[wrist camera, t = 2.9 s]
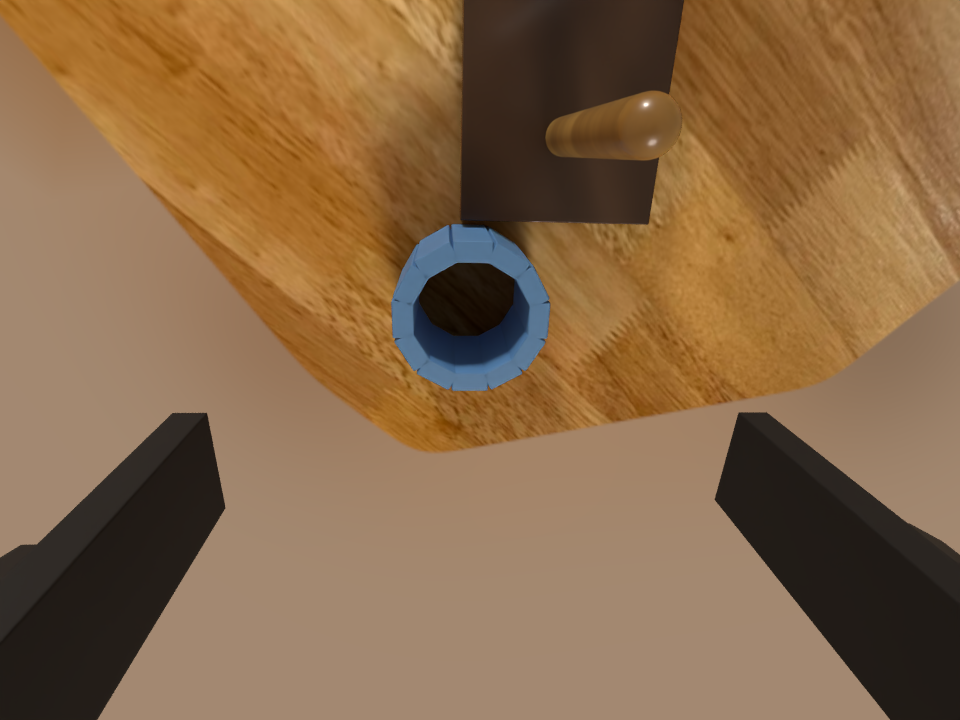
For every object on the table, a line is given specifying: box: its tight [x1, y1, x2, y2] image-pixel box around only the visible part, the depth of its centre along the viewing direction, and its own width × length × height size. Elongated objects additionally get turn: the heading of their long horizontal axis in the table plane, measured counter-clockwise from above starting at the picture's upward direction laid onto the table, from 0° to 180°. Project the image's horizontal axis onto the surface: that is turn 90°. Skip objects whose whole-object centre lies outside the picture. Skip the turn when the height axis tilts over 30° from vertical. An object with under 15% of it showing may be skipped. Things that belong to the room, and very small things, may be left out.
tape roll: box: [391, 224, 550, 391], centre depth 28 cm, size 8×8×6 cm
